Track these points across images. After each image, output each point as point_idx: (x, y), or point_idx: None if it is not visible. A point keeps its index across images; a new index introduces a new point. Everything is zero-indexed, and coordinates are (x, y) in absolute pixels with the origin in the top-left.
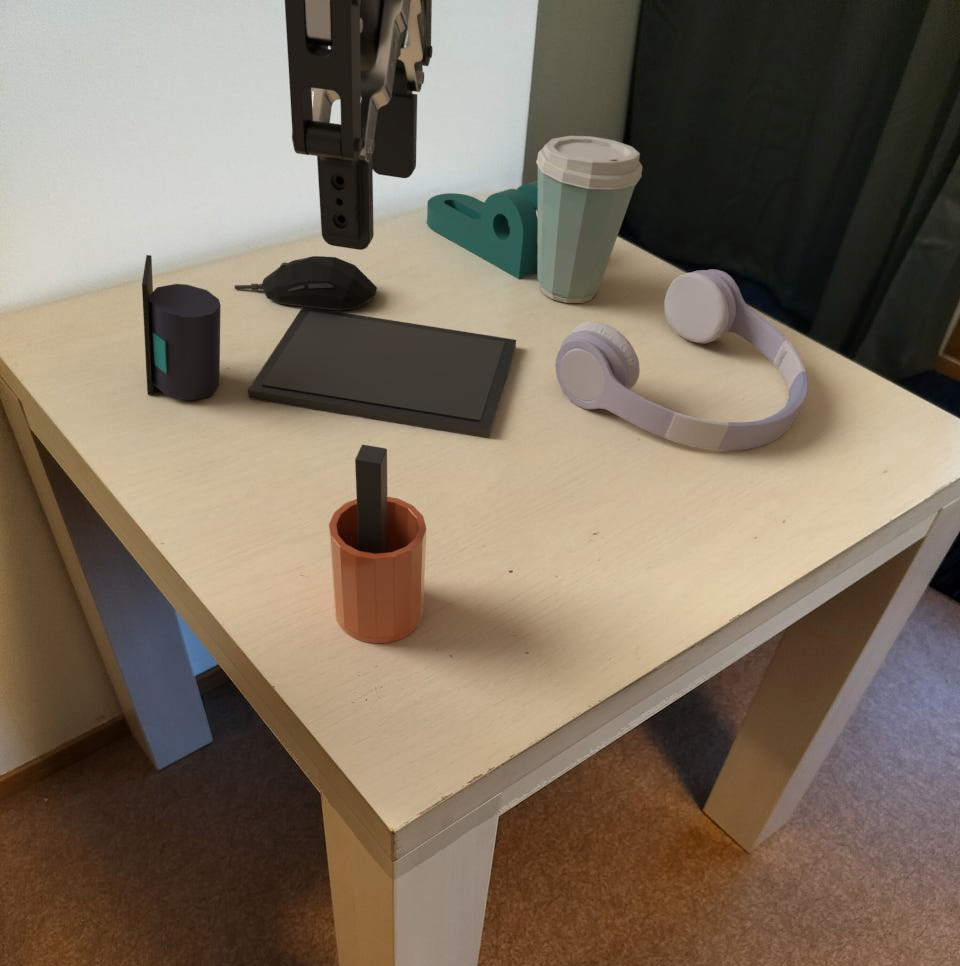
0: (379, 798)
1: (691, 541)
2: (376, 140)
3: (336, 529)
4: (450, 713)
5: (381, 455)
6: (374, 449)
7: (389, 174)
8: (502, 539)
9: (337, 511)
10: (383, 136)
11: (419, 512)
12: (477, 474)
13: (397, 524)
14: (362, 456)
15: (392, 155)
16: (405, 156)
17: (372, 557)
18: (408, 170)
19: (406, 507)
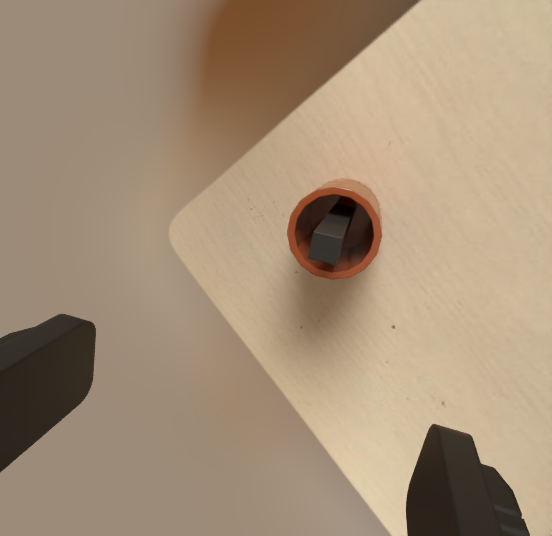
0: (173, 220)
1: None
2: (439, 482)
3: (326, 194)
4: (242, 268)
5: (322, 259)
6: (332, 251)
7: (421, 454)
8: (437, 325)
9: (354, 193)
10: (434, 508)
11: (354, 274)
12: (547, 312)
13: (368, 247)
14: (319, 239)
15: (423, 493)
16: (412, 521)
17: (289, 230)
18: (409, 501)
19: (362, 261)
